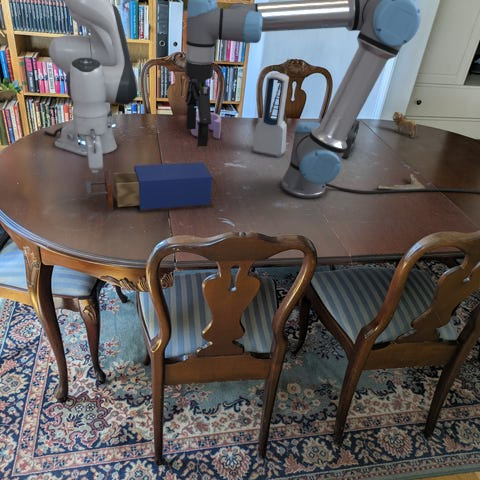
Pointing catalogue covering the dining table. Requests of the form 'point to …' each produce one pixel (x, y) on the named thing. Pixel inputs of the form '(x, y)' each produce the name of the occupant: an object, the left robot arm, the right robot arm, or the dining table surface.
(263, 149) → the electronic device
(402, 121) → the lion figurine
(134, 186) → the drawer
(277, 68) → the miniature windmill
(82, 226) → the dining table surface
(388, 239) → the dining table surface
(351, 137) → the handheld gaming console
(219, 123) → the clip
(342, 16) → the right robot arm
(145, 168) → the navy blue box
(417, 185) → the jawbone
